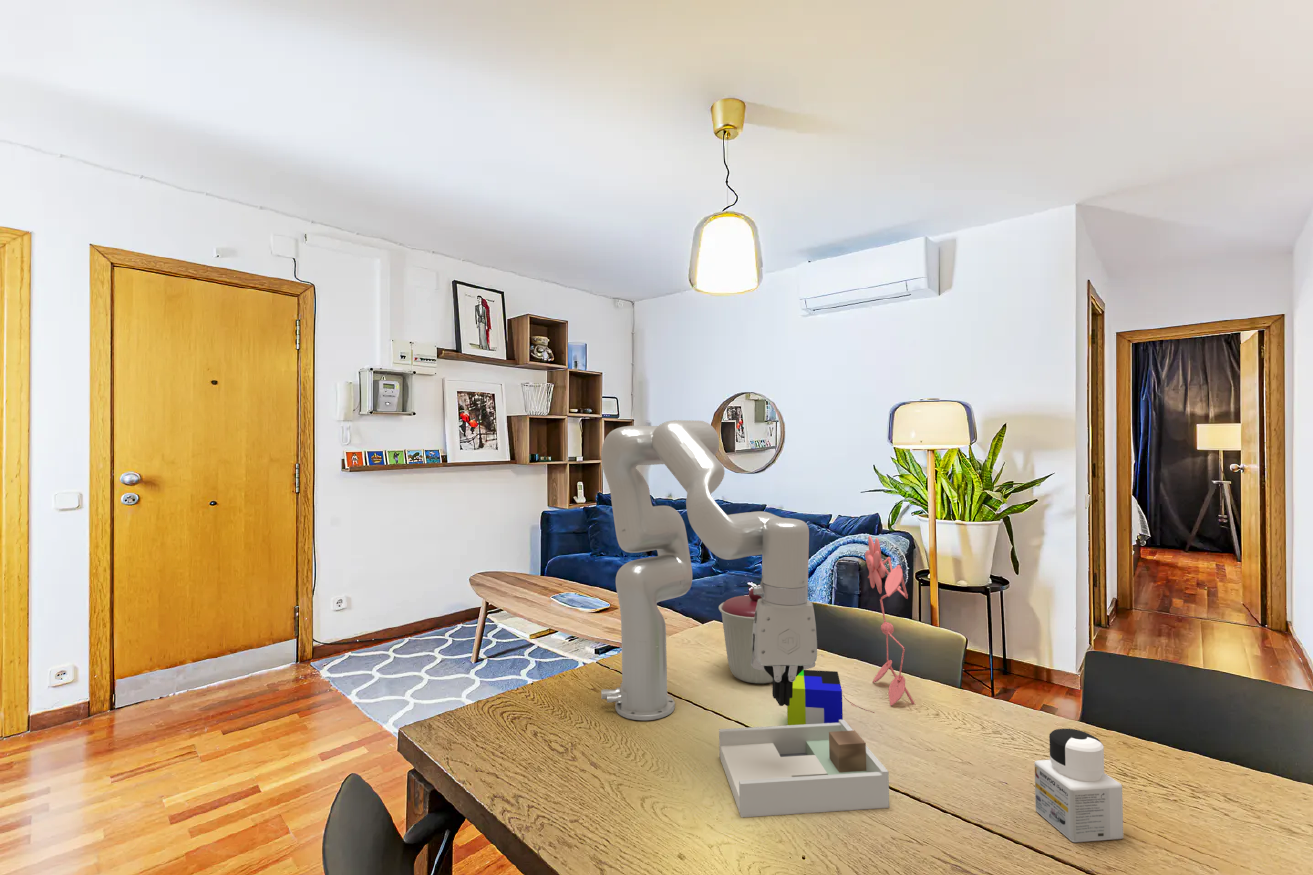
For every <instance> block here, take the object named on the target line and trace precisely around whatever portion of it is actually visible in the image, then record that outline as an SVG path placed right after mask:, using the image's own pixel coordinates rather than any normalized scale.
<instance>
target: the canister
mask: <svg viewBox="0 0 1313 875" xmlns="http://www.w3.org/2000/svg"><path fill="white" fill-rule="evenodd" d="M761 598H762V597H761V596H758V595H754V594H753V587H752V588H750V589H749V591H748V595H738V596H734V597H731V598H729V599H726V600H725V601H723V602H721V603H720V604H719V605H718V610H719V612H720V613H721V618H722V619H721V620H722V627H723V634H724V636H723V637H724V643H725V650H726V655H727V656H726V657H727V663H728V668H729V670H730V672H731V674H732V675H733V676H734V677H735V678H736V679H738V680H739V681H743V682H745V683H750V684H758V685H759V684H771V683H773V678H772V677H771V676H770V675H769V674H768V673H767V672H766V671H764V670H759V669H755V668H753V667H752V665H751V659H752V656H753V653H752V632H753V623H754V616H755V610H756V606H757V602H758V599H761ZM784 668H785V666H780V670H781V676H782V675H783V673H784Z"/></svg>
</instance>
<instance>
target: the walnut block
mask: <svg viewBox="0 0 1313 875" xmlns="http://www.w3.org/2000/svg"><path fill="white" fill-rule="evenodd" d="M866 746H867V744H866V741H864V739H863V738H862V736H860V735H859V733H858V732H857V731H856V730H854V729H853V731H835V732H829V759H830V760H831V761H832V763H833V764H834V766H835V767H836V769H837V770H838V771H839V773H840V772H856V771H866Z"/></svg>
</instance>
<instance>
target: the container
mask: <svg viewBox="0 0 1313 875" xmlns="http://www.w3.org/2000/svg"><path fill="white" fill-rule="evenodd" d="M1104 748H1105V746H1104V744H1103V743H1102V741H1101V740H1100V739H1098V738H1097V737H1096V736H1094V735H1092V734H1090V733H1088V732H1086V731H1082V730H1079V729H1074V728H1057V729H1054V730H1052V731H1051V732H1050V733H1049V759H1040V760H1035V761H1034V794H1035V795H1034V799H1035V800H1034V802H1035V804H1034V805H1035V812H1037V813H1038V814H1039V815H1040V816H1041V817H1042V818H1044V819H1045V821H1047V822H1048V823H1049V824H1051V825H1052V826H1053V827H1055V829H1057V830H1058V831H1059V833H1061V834H1062V835H1063V836H1065V837H1066V838H1067V839H1068V840H1069V841H1071V842H1072V843H1084V842H1085V843H1086V842H1098V841H1099V842H1100V841H1111V840H1121V839H1124V819H1123V818H1124V811H1123V810H1124V809H1123V806H1124V805H1123V803H1124V802H1123V785H1122V783H1121V782H1119V781H1118V780H1116V779H1114V778H1113V777H1111V776H1109V775H1108V774H1107V773H1105V755H1104V754H1105V752H1104V751H1105V750H1104Z"/></svg>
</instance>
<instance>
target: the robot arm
mask: <svg viewBox="0 0 1313 875" xmlns="http://www.w3.org/2000/svg"><path fill="white" fill-rule="evenodd" d="M719 449H720V436H719V434H718V432H717V430H716V429H715V427H713V426H712V424H710V423H708V422H707V421H703V420H683V419H681V420H679V419H678V420H676V419H675V420H668V421H665V422H662V423H661V424H659V425H627V426H621V427H620V426H619V427H617V428H615V429H612V430H611V431H610V432H609V433H608V434H607V435H606V436H605V439H604V441H603V442H602V446H601V452H600V454H601V455H600V457H601V466H602V470H603V473H604V476H605V479H606V482H607V485H608V489H609V492H610V493H609V494H610V499H611V507H612V513H613V522H614V528H615V535H616V541H617V543H618V546H619V548H620V549H621V550H622V551H624V552H625V553H628V554H629V553H630V554H633V553H635V554H636V553H643V552H644V553H645V552H650V551H657V556H648V557H643V558H638V559H634V560H630V561H628V562H626V563H624V564H623V565H622V566H621V567H620V568H619V569H618V570H617V572H616V576H615V588H616V589H615V590H616V594H617V598H618V605H619V612H620V625H621V626H620V632H621V635H620V636H621V674H622V676H621V677H622V678H621V679H622V680H621V681H622V682H621V683H620V687H617V686H616V687H615V689H607V688H606V689H605V688H604V689H601V695H600V696H601V700H606V703H615V712H616V713H617V714H618V715H619V716H621V717H622V718H626V719H628V720H633V721H654V720H659V719H662V718H665V717H667V716H670V714H672V713H673V712H674V710H675V707H676V706H675V705H676V702H675V700H674V699H673V698H672V697H671V696H670V695H668V672H667V671H668V670H667V669H668V668H667V667H668V665H667V664H668V663H667V662H668V661H667V658H668V657H667V626H666V624H667V623H666V621H665V617H664V616H663V614H662V613H661V611H660V609H659V608H658V604H657V603H659V602H663V601H667V600H668V601H669V600H672V599H675V598H680V597H682V596H684V595H686V594H687V593H688V592H689V591H690V589H691V588H692V584H693V583H692V582H693V568H692V560H691V555H690V553H691V552H690V549H689V548H690V546H689V542H688V535H687V530H686V524H685V521H684V520H683V517H682V515H681V514H680V512H679V511H677V510H676V509H675V508H674V507H672V506H669V505H653V504H652V499H651V494H650V487H649V484H648V482H647V480H646V479H645V477H644V475H643V474H642V473H641V472H640V471H639V470H638V469H637V467H638V466H649V465H650V466H653V465H654V466H655V465H665V467H666V468H667V469H668V470H669V471H670V473H671V474H672V476H674V478H675V479H676V480H677V482H678V483H679V484H680V486H682V488H683V489H684V490H685V492H686V499H685V505H686V514H687V518H688V521H689V525H690V526H691V528H692V530H693V532H694V533H695V534H696V535H697V537H698V538H699V539H700V541H701V543H702V544H704V546H705V547H706V548H707V549H708V550H709V551H710V552H711V553H712V554H713V555H714V556H716V557H718V558H720V559H721V560H727V561H728V560H729V561H730V560H737V559H742V558H747V557H751V556H752V557H753V556H759V555H760V556H761V555H762V556H761V557H762V560H761V561H762V562H761V563H762V564H761V580H760V584H759V585H757V586H753V587H752V588H753V594H754V595H758V596H761V597H762V598H761V599H758V602H757V606H756V610H755V616H754V623H753V632H752V653H753V656H752V659H751V665H752V667H753V668H755V669H759V670H764V671H766V672H767V673H768V674H769V675H770V676H771V677H772V678H773V682H772V692H771V693H772V697H773V699H775V701H776V702H777V704H778V706H780V707H784V705H785V706H786V707H787V706H789V705H790V698H792V693H793V682H794V681H795V679H796V676H797V675H798V674H799V673H800V672H801V671H802V670H810V669H812V668H814V667H815V666H816V662H817V659H818V658H817V657H818V640H817V639H818V638H817V637H818V636H817V624H816V616H815V610H814V604H813V602H811V601H810V600H808V597H809V594H808V593H809V556H810V552H809V550H810V549H809V548H810V546H809V545H810V529H809V526H808V524H807V523H806V521H804V520H801V519H797V518H788V517H781V516H778V515H776V514H774V513H771V512H767V511H763V510H762V511H751V512H750V511H749V512H739V513H731V514H727V513H726V512H725V511H724V510H723V509H722V507H720V506H719V504H718V503H717V502H716V500H715V499H714V497H713V496H712V493H714V492H715V491H716V490H717V489H718V488H719V486H720V485H721V484H722V481H723V480H724V478H725V472H726V471H725V467H724V465H723V464H722V463H721V461H720V460H718V458H717V457H716V455H717V453H718V451H719ZM780 666H785V668H784V673H783V675H782V676H781V670H780Z"/></svg>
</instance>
